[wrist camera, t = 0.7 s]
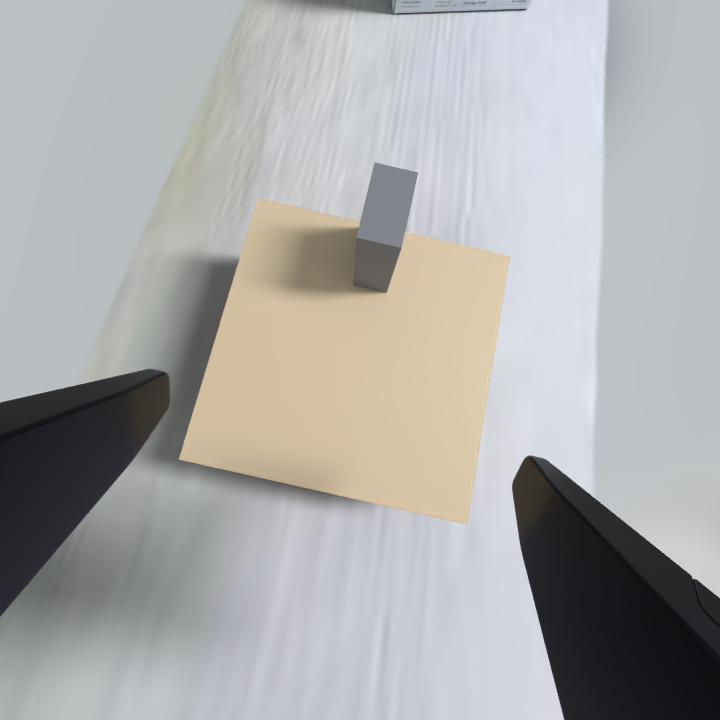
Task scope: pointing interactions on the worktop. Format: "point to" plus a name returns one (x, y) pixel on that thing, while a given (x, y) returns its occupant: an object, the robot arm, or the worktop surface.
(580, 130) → the worktop surface
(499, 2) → the light bulb box
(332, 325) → the sliding lid
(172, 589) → the worktop surface
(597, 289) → the worktop surface
